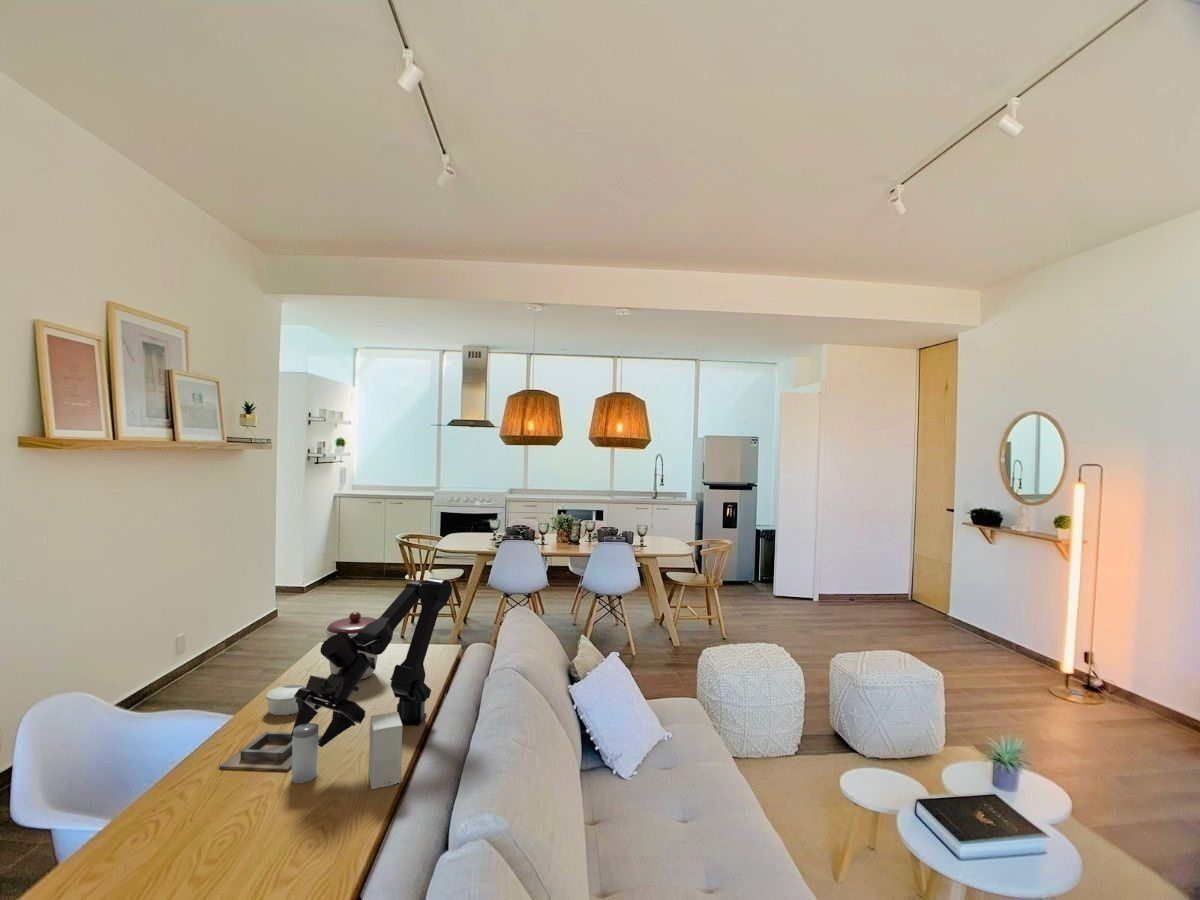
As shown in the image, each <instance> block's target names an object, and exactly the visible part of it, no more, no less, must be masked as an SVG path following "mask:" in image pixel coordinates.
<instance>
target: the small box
mask: <svg viewBox="0 0 1200 900" xmlns="http://www.w3.org/2000/svg"><path fill="white" fill-rule="evenodd" d="M369 723H370V724H369V726H370V727H369V745H368V746H369V750H368V770H367V772H368V779H369V783H370V789H371V790H376V789H381V788H384V787H390V786H394V784H395V785H398V784H397V783H399V784H401V783H402V755H403V754H402V753H403V727H404V725H402V722H401V719H400V716H399V713H398V712H397V711H395V712H388V713H382V714H374V715H370V722H369ZM380 787H381V788H380Z"/></svg>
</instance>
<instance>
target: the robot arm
mask: <svg viewBox="0 0 1200 900" xmlns="http://www.w3.org/2000/svg"><path fill="white" fill-rule="evenodd" d="M452 591H453V586H452V584H451V582H450V581H449V580H446V579H441V578H434V577H428V578H427V579H426V580H417V581H415V580H414V581H413V580H411V581H408V582H407V583H406V585H405V587H404V589H403V590H402V591H401V592H400V593H399V595H398V596H397V597H396V598H395V599H394V600H393V602H392V603H391V604H390V605H389V606H388V607H387V609H386V610H385V611H384V612H383V613H382V614H381V616H379V617H378V618H376V619H377V620H375V621H373V622H371V623H369V624H367V625H366V626H365V627H364V628H363V629H362V630H360V631H359V632H358V634H357V635H355V636H353V637H349V635H348V634H347V633H346V632H345V631H339V632H338V633H337V634H336V635H333V636H331V637H330V638H328V639H327V638H326V640H324V642H323V643H322V645H321V646H320V651H319V652H320V654H321V655H322V656H323V657H324V658H326V659H325V660H328V662H329V661H330V662H331V663H332V664H333V665H334V666H336V667H338V668H340V669H339V670H338V672H337V673H336V674H333V673H332V674H331V673H330V674H329V676H328V678H327V677H323V676H316V675H309V678H308V681H307V683H306V685H307V686H306V688H305V687H303V688H300V689H299V690H298V691H297V692H296V694H295V695H294V697H295V698H296V703H298V713H296V718H295V722H294V725H293V728H292V731H291V732H290V733H291V736H292V737H293V729H294V728H295V727H297V726H299V725H302V724H306V723H311V721H312V720H313V719H314V718H315V717H316V716H317V715H318V713H319V712H318V711H317V710H319V709H321V708H325V709H327V710H332V715H331V716H332V717H331V722H330V723H329V724H328V726H327V727H326V729H325V731H324V733H323V735H321V736H322V738H321V740H320V741H319V742H318V747H320V748H322V747H324V746H325V745H327V744H328V743H329V742H331V741H333V739H335V738H336V737H337V736H339V735H340V734H342V733H343V732H346V730H348V729H349V728H351V727H355V726H356V725H357V724H359V725H361V724H362V722H363V720H364V719H365V717H366V709H364V708H363V707H361V706H360V705H359V704H358V703H357V702H356V701H352V700H349V698H350V697H351V695H352V694H353V692H355V693H357V692H358V691H359V690H360V688H359V687H358V684H359V683H360V681H362V680H361V678H362V677H363V675H364V673H365V672H366V670H367V669H368V668H369V669H373V670H374V669H375V670H376V667H375V662H374V658H372V657H367V656H366V655H365V654H364V653H358V651H361V652H365V653H369V654H373V655H378V656H379V655H381V654H383V653H384V652H385V651H386V649H387V647H389V644H390V643H391V641H392V640H393V636H394V631H395V629H396V628H397V627H398V626H399V624H400V623H401V622H402V620H403V619H404V618H405V617H406V616H407V615H408V613H409V612H410V611H411V610H412V608H413V607H414V606H415V605H416V604H417V602H418V601H420V606H421V609H420V613H419V615H418V619H417V621H416V625H415V628H414V631H413V635H412V637H411V641H410V644H409V648H408V651H407V653H406V657H405V658H404V661H402V662H401V663H400V664H396V665H395V666H394V669H393V673H392V675H391V677H390V688H391V690H392V692H393V695H394V697H395V699H396V698H397V699H398V703H397V704H396V712H398V713H399V716H400V719H401V722H402V725H403V726H404V725H405V726H407V725H408V726H419V725H421V723H422V721H424V719H425V718H426V716H427V713H426V712H425V707H426V706H425V705H426V704H425V703H426V701H427V700H428V699H430V696H431V692H432V689H431V688H430V687H429V686H428V685H427V684H426V683H425V680H426V669H425V666H424V663H425V658H426V656H427V652H428V649H429V646H430V642H431V639H432V635H433V632H434V629H435V625H436V622H437V619H438V616H439V613H440V611H441V610H442V609H443V608H444V607H445V606H446V605H447V604H448V602H449V600H450V597H451V594H452ZM375 670H374V671H375Z"/></svg>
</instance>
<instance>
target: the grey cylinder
mask: <svg viewBox="0 0 1200 900" xmlns="http://www.w3.org/2000/svg"><path fill="white" fill-rule="evenodd" d="M292 730H293V744H292V768H291V774H290V775H291V779H290V780H292V781H291V782H292V783H293V782H295V783H294V784H298V783H300V784H305V783H304V782H306V783H308V782H307V781H309V782H311V781H313V780H315V779H316V778H317V777H318V759H319V757H318V755H319V754H318V753H319V745H318V744H319V742H318V736H319V724H318V723H316V722H309V723H306V724H302V725H299V726H297V727H295V728H294V729H293V728H292ZM315 777H316V778H315ZM314 778H315V779H314ZM312 779H313V780H312ZM310 780H311V781H310Z"/></svg>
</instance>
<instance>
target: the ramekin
mask: <svg viewBox="0 0 1200 900" xmlns="http://www.w3.org/2000/svg"><path fill="white" fill-rule="evenodd" d="M306 686H307V684H300V683H299V684H298V683H295V684H294V683H293V684H284V685H281V686H280V685H279V686H277V687H274V688H272V689H270V690H269V691H268V692H267V693H266V695H265V699H266V701H267V708H268V709H267V710H268V712H269V714H271V715H272V714H273V716H275V715H287V716H290V715H289V714H292V715H295V714H294V713H296V714H298V713H297V712H298V703H296V698H295V697H294V695H295V694H296V692H297V691H298V690H299V689H300V688H303V687H305V688H306Z"/></svg>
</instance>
